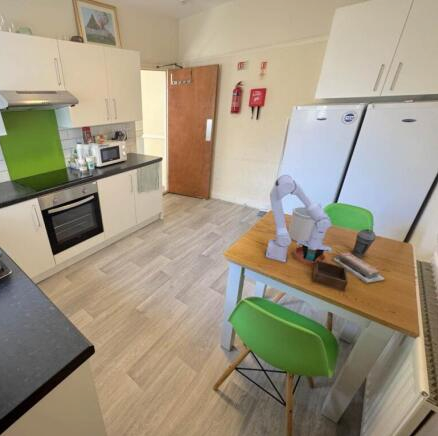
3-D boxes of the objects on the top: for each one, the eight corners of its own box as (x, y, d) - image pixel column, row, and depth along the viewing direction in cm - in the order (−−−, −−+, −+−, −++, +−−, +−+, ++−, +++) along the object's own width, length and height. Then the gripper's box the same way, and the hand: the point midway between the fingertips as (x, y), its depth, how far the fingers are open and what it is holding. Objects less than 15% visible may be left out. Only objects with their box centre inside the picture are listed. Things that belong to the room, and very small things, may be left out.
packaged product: (334, 252, 121) (350, 250, 123) (331, 260, 124) (347, 257, 125) (370, 275, 106) (388, 272, 107) (366, 284, 108) (383, 280, 110)
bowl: (291, 261, 124) (293, 256, 122) (293, 248, 134) (295, 243, 133) (324, 270, 117) (326, 265, 116) (324, 255, 127) (325, 251, 126)
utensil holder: (287, 240, 141) (294, 214, 133) (285, 229, 153) (291, 204, 145) (316, 245, 136) (326, 218, 128) (311, 233, 148) (320, 207, 140)
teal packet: (304, 262, 122) (307, 254, 120) (304, 257, 126) (307, 249, 123) (311, 264, 121) (314, 256, 119) (312, 259, 124) (314, 251, 122)
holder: (312, 282, 110) (316, 273, 107) (313, 268, 118) (316, 259, 116) (343, 291, 104) (347, 282, 102) (341, 276, 113) (345, 267, 110)
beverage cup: (363, 253, 128) (379, 220, 119) (368, 260, 122) (385, 227, 113) (347, 250, 131) (361, 218, 122) (350, 257, 125) (365, 224, 116)
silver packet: (305, 256, 127) (307, 248, 124) (305, 252, 130) (307, 244, 128) (312, 258, 125) (314, 250, 123) (312, 253, 128) (315, 246, 126)
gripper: (299, 236, 117) (292, 259, 123) (335, 245, 110) (326, 268, 116) (300, 230, 122) (293, 252, 129) (334, 237, 115) (325, 260, 122)
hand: (308, 259), depth 123 cm, fingers open, 4 cm apart
